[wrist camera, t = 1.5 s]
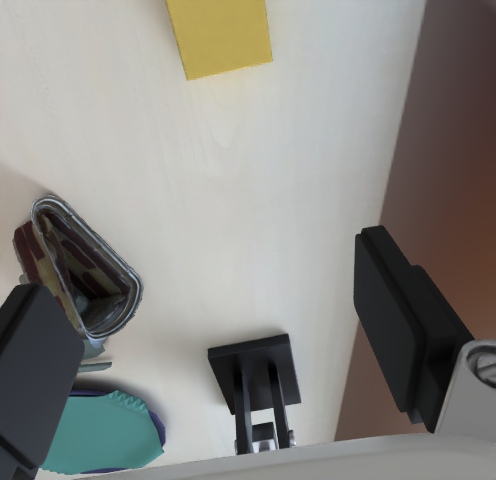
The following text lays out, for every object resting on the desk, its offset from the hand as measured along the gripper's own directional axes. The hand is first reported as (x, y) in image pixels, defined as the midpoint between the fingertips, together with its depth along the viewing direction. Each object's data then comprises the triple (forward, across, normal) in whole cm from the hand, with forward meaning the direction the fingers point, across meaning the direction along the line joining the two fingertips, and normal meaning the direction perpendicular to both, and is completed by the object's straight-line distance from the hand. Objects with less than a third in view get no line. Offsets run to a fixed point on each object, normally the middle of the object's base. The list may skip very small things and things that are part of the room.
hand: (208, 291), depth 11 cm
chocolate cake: (+18, +15, +10) cm, 25 cm away
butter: (+18, -2, -7) cm, 19 cm away
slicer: (+17, +1, +30) cm, 35 cm away
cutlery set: (+17, +23, +30) cm, 42 cm away
